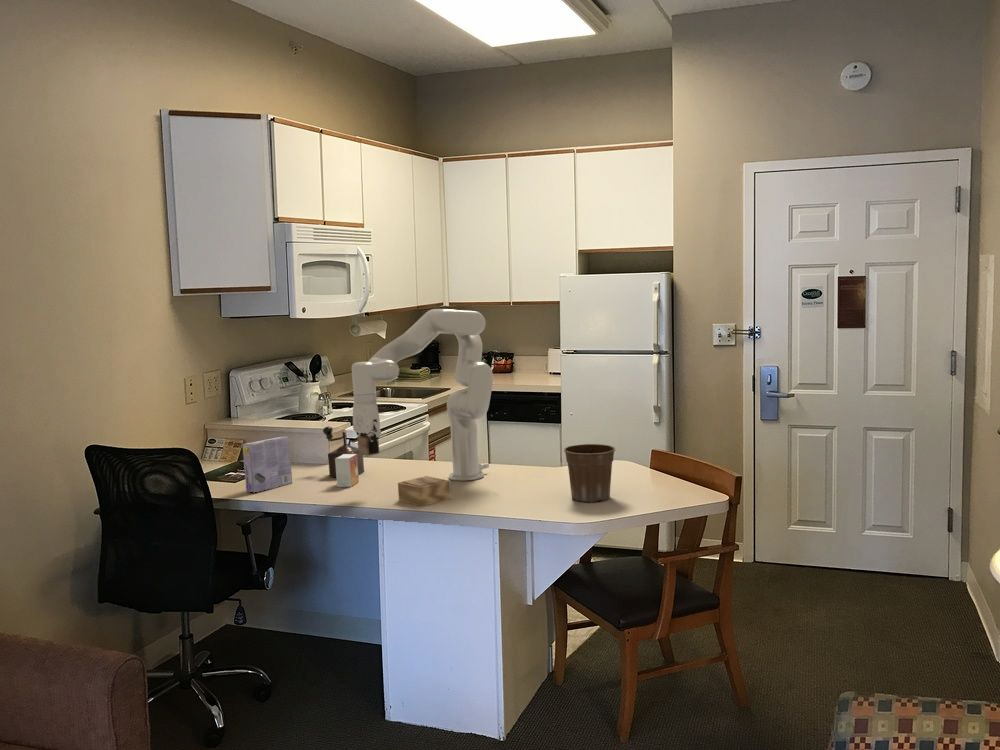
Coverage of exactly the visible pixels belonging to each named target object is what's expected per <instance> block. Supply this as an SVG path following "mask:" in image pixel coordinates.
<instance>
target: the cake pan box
mask: <svg viewBox="0 0 1000 750" xmlns="http://www.w3.org/2000/svg"><path fill="white" fill-rule="evenodd" d="M242 454H243V455H242V456H243V467H244V468H243V469H244V478H245V479H244V480H245V491H246V492H247V493H250V492H253V493H252V494H256V493H255V492H257V493H260V492H259V491H261V492H265V491H268V489H269V490H273V489H277V488H279V486H280V487H282V486H287V485H291V484H293V473H292V464H291V463H292V461H291V448H290V437H289V436H279V437H273V438H268V439H262V440H258V441H257V440H256V441H253V442H247V443H242ZM290 483H291V484H290ZM276 487H277V488H276ZM272 488H273V489H272ZM264 490H265V491H264Z"/></svg>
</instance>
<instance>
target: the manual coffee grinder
mask: <svg viewBox="0 0 1000 750" xmlns="http://www.w3.org/2000/svg"><path fill="white" fill-rule="evenodd" d="M333 430H334V429H333V427H331V426H325V427H324V428H323V429H322V433H323V434H324V435H326V436H325V437H326V440H327V441H328V442H334V441H339V440H342V439H343V444H342V445H341V446H339V447H338V448H336V449H334V450H332V451H330V452H329V453H327V459H328V471H329V478H330V477H336V464H335V458H338V457H339V456H341V455H343V454H357V461H358V475H359V476H361V475H362V474H364V473H365V467H364V465H365V464H364V461H365V460H364V455H360V454H359V452H358V447H356V446H353V445H350V443H347V439H346V438H347V433H346V432H345V431H343V432H342V435H341V436H339V437H335V438H333V437H334V436H333ZM363 472H364V473H363Z"/></svg>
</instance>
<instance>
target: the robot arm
mask: <svg viewBox="0 0 1000 750" xmlns="http://www.w3.org/2000/svg"><path fill="white" fill-rule="evenodd" d="M485 327H486V319H485V317H484V315H483V314H482V313H480V312H479V311H474V310H458V309H448V308H433V309H430V310H427V312H425V313H424V314H423V315H422V316H420V318H419V319H418V320H417V321H416V322H415V323H414V324H412V326H411V327H409V328H408V329H407V330H406V331H405V332H404V333H403V334H402V335H400V336H398V337H396V338H395V339H393V340H392V341H390V342H388V343H387V344H386V345H384V346H382V348H380V349H379V350H377V351H376V353H375V354H374V355H372V357H370V359H369V360H368V361H357V362H354V363H352V365H351V376H352V388H353V389H352V391H353V405H352V429H353V431H354V432H355V433H356V435H357V437H358V436H364V435H368V436H369V440H370V442H369V453H370V454H373V453H378V441H379V437H380V435H381V434H382V431H381V422H380V421H381V420H380V413H379V408H378V404H377V403H378V400H377V386H376V383H389V382H393V381H394V380H396V379H397V378H398V377H399V375H400V368H399V365H398V364H397V363H398V362H400V361H401V360H403V359H406V358H408V357H412V356H415V355H417V354H419V353H421V352H422V351H424V349H425V348H427V346H429V344H431V342H432V341H433V340H435V338H437V336H439V335H440V334H446V335H447V334H448V335H454V336H455V337H456V338H455V339H457V342H458V354H457V359H456V360H457V361H456V366H455V372H454V379H455V382H456V384H458V385H459V386H461V387H465V388H467V390H462V389H461V390H455V391H453V392H451V394H450V395H448V397H447V400H446V411H447V414H448V418H449V424H450V427H449V428H450V441H451V443H450V445H451V459H452V460H451V461H452V472H451V473H450V474H448V478H449V480H452V481H459V482H461V481H462V482H463V481H475V480H478V479H482V478H484V476H485V475H484V474H485V473H484V471H483V470H484V469H489V467H490V464H489V463H488V462H484V463H481V462H480V457H479V443H478V442H479V440H478V438H479V437H478V426H477V422H476V421H477V420H480V419H482V418H483V417H485V416H486V415H487V412H488V411H489V407H490V401H491V395H492V391H493V383H494V373H493V370H492V368H491V367H490V365H489V364H487V363H485V362H484V361H482V357H483V341H482V338H481V335H480V334H481V333H483V332H484V330H485V329H486V328H485ZM372 435H373V436H372ZM378 454H379V453H378ZM373 455H374V454H373Z"/></svg>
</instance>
